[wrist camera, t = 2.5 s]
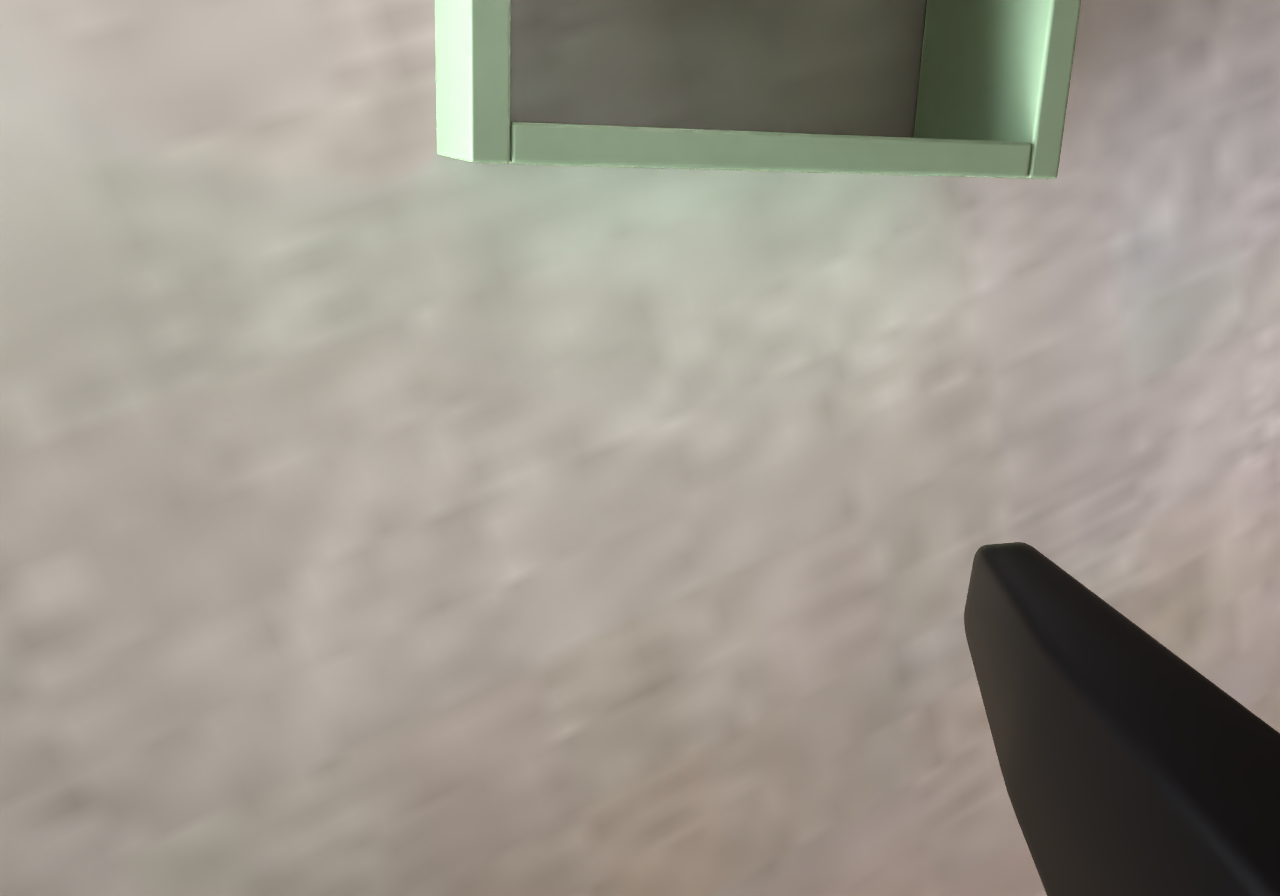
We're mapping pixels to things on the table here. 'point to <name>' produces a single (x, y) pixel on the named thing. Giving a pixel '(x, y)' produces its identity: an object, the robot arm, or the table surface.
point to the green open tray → (942, 145)
